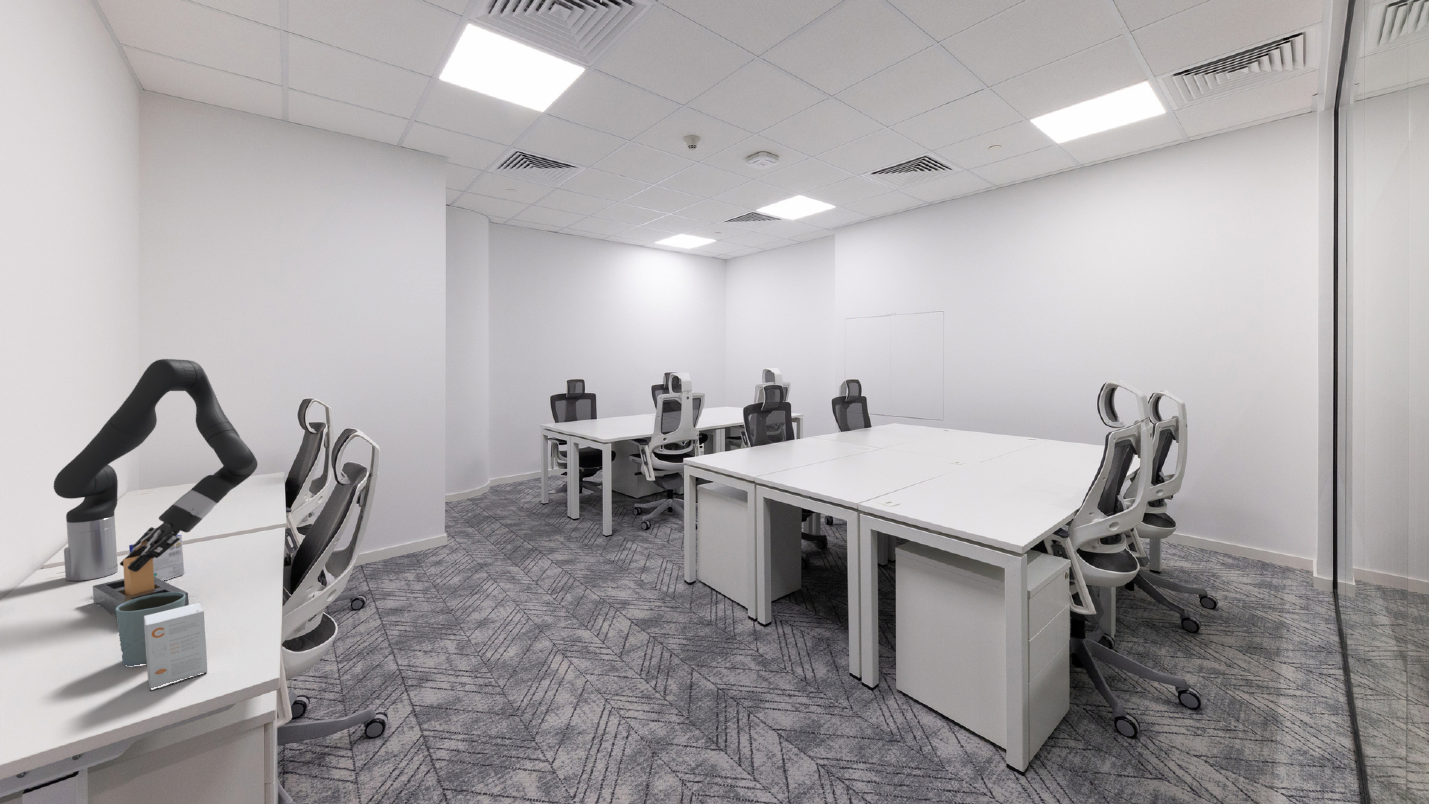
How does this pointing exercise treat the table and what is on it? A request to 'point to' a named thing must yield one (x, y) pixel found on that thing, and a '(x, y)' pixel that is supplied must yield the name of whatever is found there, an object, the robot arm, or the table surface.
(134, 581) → the square peg
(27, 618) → the table surface
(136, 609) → the grey-green hollow cylinder
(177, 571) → the ink cartridge box
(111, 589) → the gray slotted block
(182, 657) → the small box
